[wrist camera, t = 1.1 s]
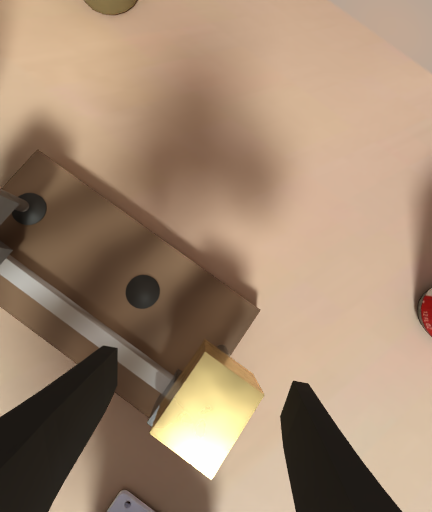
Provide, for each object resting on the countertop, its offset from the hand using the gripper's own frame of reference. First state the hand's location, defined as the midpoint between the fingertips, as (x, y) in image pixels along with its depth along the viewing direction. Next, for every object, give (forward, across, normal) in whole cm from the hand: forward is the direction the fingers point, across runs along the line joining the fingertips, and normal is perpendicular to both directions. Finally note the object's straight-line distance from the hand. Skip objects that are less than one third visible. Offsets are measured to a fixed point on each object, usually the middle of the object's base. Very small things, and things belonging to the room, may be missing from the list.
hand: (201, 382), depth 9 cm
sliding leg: (+7, 0, +7) cm, 10 cm away
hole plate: (+11, +10, +3) cm, 15 cm away
